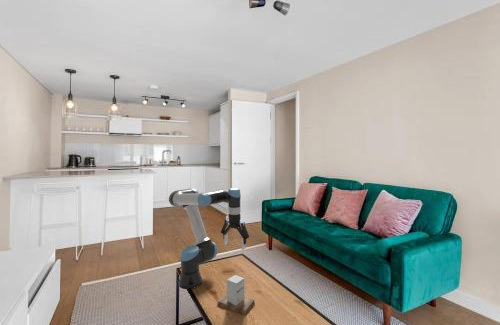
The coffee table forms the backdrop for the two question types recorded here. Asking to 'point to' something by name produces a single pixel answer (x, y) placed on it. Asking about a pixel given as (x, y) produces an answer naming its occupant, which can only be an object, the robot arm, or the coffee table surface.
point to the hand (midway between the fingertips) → (234, 246)
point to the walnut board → (240, 308)
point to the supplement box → (235, 289)
